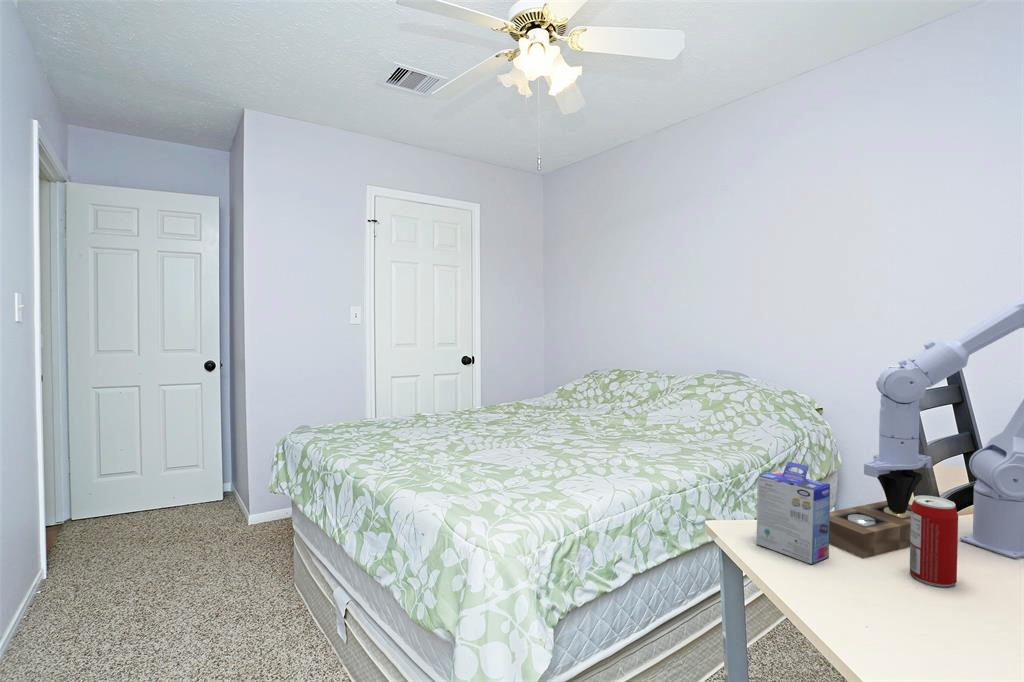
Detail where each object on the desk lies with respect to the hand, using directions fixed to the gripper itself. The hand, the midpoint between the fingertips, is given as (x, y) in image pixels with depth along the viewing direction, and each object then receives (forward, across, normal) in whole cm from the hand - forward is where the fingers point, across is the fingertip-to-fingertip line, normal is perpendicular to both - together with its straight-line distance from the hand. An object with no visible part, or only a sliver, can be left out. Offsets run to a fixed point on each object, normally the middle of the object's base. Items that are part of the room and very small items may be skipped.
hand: (897, 511), depth 97 cm
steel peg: (+4, +9, 0) cm, 10 cm away
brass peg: (+4, 0, 0) cm, 4 cm away
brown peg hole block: (+4, +4, 0) cm, 6 cm away
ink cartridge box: (+4, +22, -2) cm, 23 cm away
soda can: (+4, +12, +13) cm, 18 cm away
